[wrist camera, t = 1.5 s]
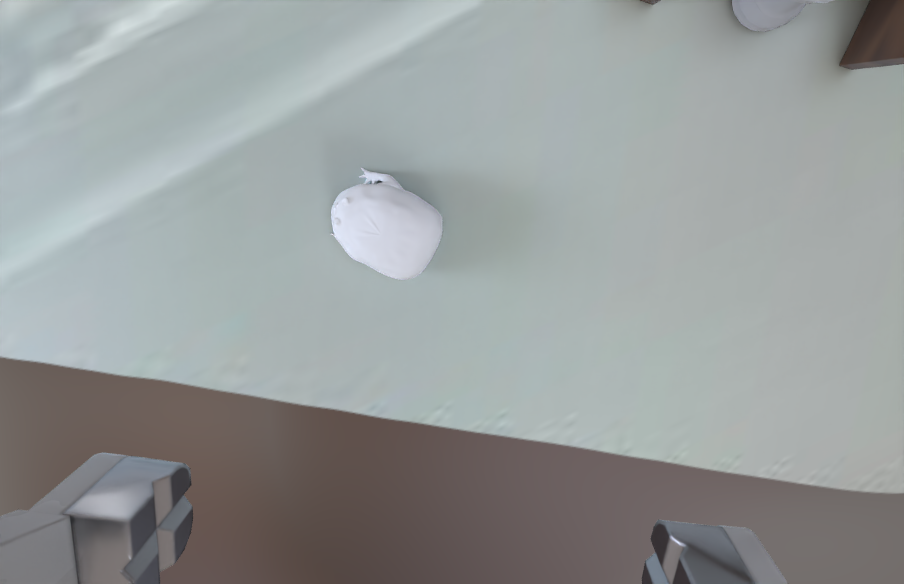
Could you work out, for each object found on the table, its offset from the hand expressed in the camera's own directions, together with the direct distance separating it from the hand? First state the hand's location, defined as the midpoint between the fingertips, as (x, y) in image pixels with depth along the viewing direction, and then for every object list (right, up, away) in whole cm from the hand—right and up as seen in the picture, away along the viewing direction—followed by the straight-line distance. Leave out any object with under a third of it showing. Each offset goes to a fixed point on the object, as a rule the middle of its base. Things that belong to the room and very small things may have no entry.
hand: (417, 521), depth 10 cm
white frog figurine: (-4, +9, +33) cm, 34 cm away
